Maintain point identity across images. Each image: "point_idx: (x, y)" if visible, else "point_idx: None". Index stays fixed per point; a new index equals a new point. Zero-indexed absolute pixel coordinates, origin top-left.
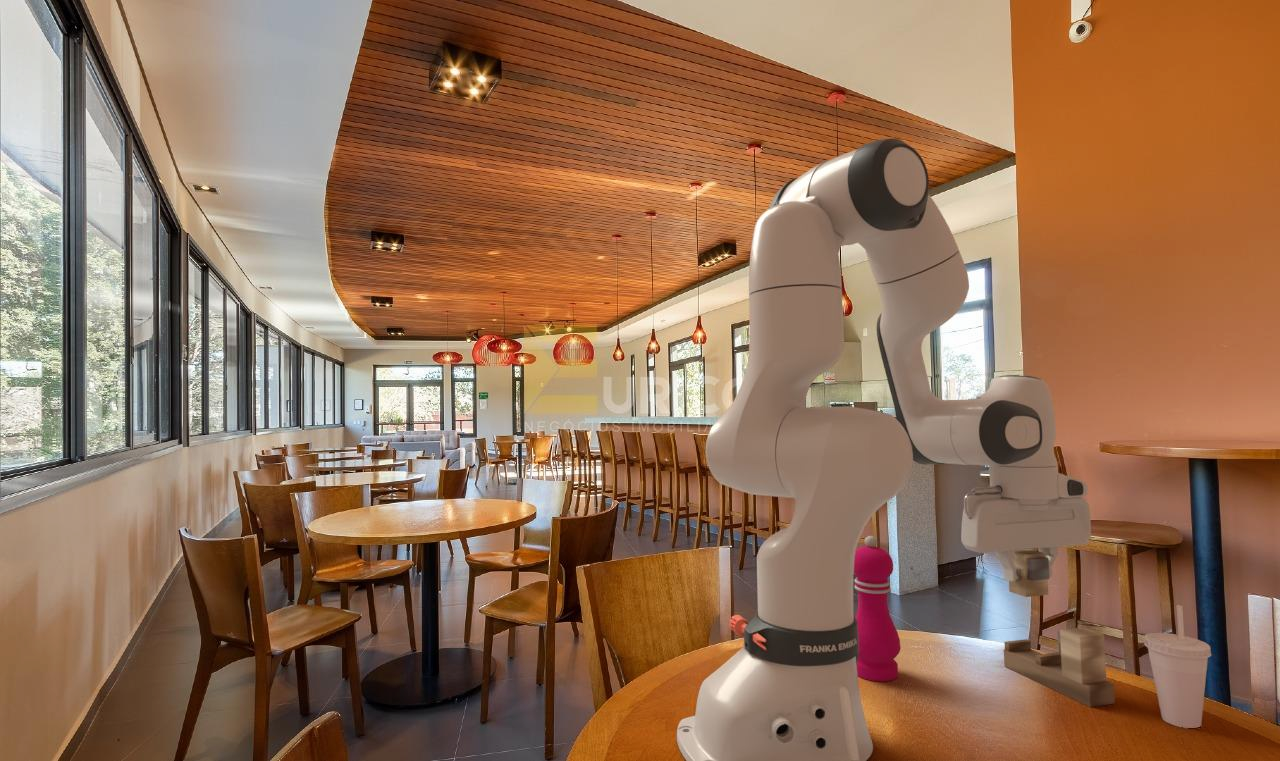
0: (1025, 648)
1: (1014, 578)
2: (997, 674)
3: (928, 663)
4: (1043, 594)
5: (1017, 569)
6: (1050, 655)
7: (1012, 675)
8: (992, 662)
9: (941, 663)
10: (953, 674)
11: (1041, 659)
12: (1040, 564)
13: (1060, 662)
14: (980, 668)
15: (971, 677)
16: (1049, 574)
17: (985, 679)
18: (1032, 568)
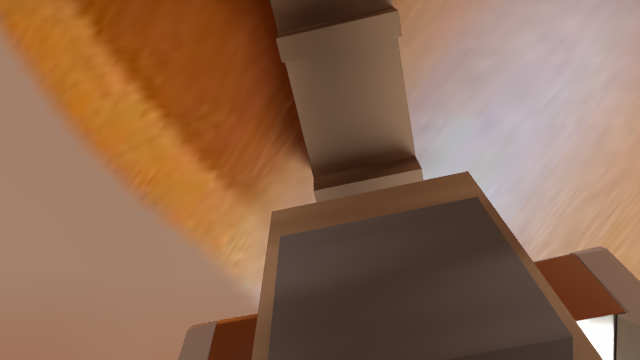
0: (339, 174)
1: (602, 254)
2: (476, 93)
3: (637, 193)
4: (313, 206)
5: (606, 313)
6: (341, 28)
7: (431, 82)
8: None
9: (595, 191)
10: (625, 101)
11: (392, 9)
12: (396, 312)
13: (294, 30)
14: (497, 145)
15: (584, 73)
16: (212, 332)
17: (549, 53)
18: (513, 262)
